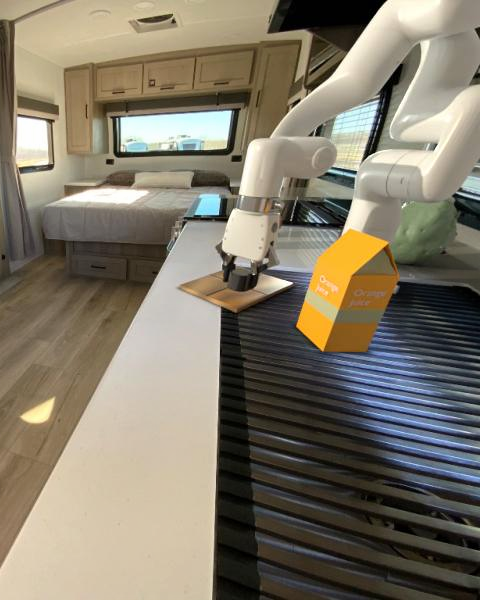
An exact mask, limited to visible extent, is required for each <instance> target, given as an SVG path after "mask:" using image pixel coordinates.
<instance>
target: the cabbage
mask: <svg viewBox="0 0 480 600" xmlns="http://www.w3.org/2000/svg"><path fill="white" fill-rule="evenodd" d="M455 202H456V199H455V197H453V196H451V197H449V198H448V199H446V200H444V201H441V202H437V203H421V202H414V201H408V200H407V201H406V202H405V203H403V205H402V204H401V206H402V220H401V223H400V226H399V228H398V230H397V233H396V235H395V237H394V240H393V242H392V245H391V247H390V250H391V253H392V256H393V259H394V262H395V263H396V264H397V263H398V264H401V265H417V264H423V263H425V262H427V261H430V260H433V259H436V258H438V257H439V256H440V255H441V254H442V253H443V252H444V251H446V250H447V248H449V246H450V245H451V244H453V242H454V241H455V240H456V237H457V236H458V232H457V230H458V227H457V224H458V220H457V219H458V218H460V215H461V210H460V211H458V212H457V208H456V206H455Z"/></svg>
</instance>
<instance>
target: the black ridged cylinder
mask: <svg viewBox="0 0 480 600" xmlns="http://www.w3.org/2000/svg"><path fill="white" fill-rule="evenodd" d="M247 269H248V268H246V269H242V268H233V269H230V272H229V276H228V281H227V288H228V289H230V290H233V291H237V292H246V291H247V290H245V289H244V288H245V284H246V280H247V275H248V274H249V273H251V271H249V270H250V269H249V270H247Z"/></svg>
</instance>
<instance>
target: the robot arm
mask: <svg viewBox="0 0 480 600" xmlns="http://www.w3.org/2000/svg"><path fill="white" fill-rule="evenodd" d="M478 28H480V0H386V1H385V2H383V4H382V5H381V7H380V8H379V9H378V10H377V12H376V14H375V15H374V16H373V18H371V20H370V21H369V23H368V24H367V25H366V27H365V28H364V30H363V31H362V33H361V34H360V36H359V37H358V38H357V39H356V41H355V43H354V44H353V46H352V47H351V48H350V50H349V51H348V53H347V54H346V55H345V57H344V58H343V59H342V61H341V62H340V64H339V65H338V67H337V68H336V69H335V71H334V72H333V73H332V75H331V76H330V77H329V78H327V79H326V80H325V81H324V82H322V83H321V84H320V85H318V87H316V88H314V90H312V91H311V92H310V93H309V94H307V96H305V97H304V98H303V99H302V100H301V101H299V102H298V103H297V104H296V105H295V106H294V107H292V109H290V111H289V112H288V113H286V115H285V116H284V117H283V118H282V119H281V121H280V122H279V123H278V125H277V126H276V127H275V129H274V131H272V133H271V135H270V137H265V138H264V137H261V138H255V139H253V140H252V141H250V143H249V144H248V146H247V150H246V155H245V161H244V165H243V170H242V175H241V181H240V184H239V185H240V186H239V191H238V195H237V201H236V205H235V208H232V211H231V213H230V216H229V218H228V220H227V224H226V226H225V229H224V230H225V231H224V233H223V238H222V240H220V242H218V243H217V244H216V245H215V247H214V248H215V250H216V252H217V253H218V254H219V256H220V258H221V260H222V265H223V266H224V268H223V270H224V273H223V282H225V283H226V282H227V281H228V276H229V272H230V269H233V268H236V266H237V263H235V262H236V260H237V258H241V259H245V260H249V261H250V270H251V273H249V274H248V275H247V280H246V284H245V288H244V289H245V290H247V291H248V290H251V289H253V288H255V287H256V286H257V283H258V279H259V275H260V273H263V272H264V271H266V270H268V269H270V268H274V267H276V266H278V265H280V264H281V263H280V260H279V257H278V255H277V253H276V249H277V245H278V239H279V238H278V237H279V231H280V229H279V221H280V216H281V214H280V212H276V211H278V210H283V208H284V207H285V202H284V201H281V200H280V199H281V197H280V195H281V191H282V188H283V184H284V181H285V179H286V178H293V179H302V180H310V179H315V178H318V177H321V176H323V175H325V174H326V173H327V172H329V171H330V170H331V169H332V167H333V166H334V165H335V163H336V161H337V158H338V148H337V146H336V144H335V143H334V142H333V141H332V140H331V139H329V138H326V137H322V136H309V135H310V134H311V133H312V132H314V131H315V130H316V129H317V128H318V127H319V126H321V125H323V124H324V123H325V122H328V121H329V120H331V119H333V118H334V117H337V116H339V115H341V114H344V113H346V112H348V111H350V110H352V109H354V108H357V107H358V106H359V107H360V105H362V104H364V103H366V102H368V101H370V100H372V99H373V98H375V96H377V95H378V93H380V91H381V90H382V88H383V87H384V86H385V84H386V83H387V82H388V81H389V79H390V78H391V76H392V75H393V73H395V71H396V70H397V68H398V67H399V66H400V64H401V63H402V62H403V60H405V58H406V57H407V55H408V54H409V53H410V52H411V50H412V49H413V48H414V47H415V46H416V45H418V44H420V51H421V53H420V62H419V66H418V67H417V71H416V72H415V74H414V77H413V79H412V81H411V83H410V84H409V86H408V89H407V91H406V92H405V95H404V97H403V98H402V100H401V103H400V104H399V106H398V109H397V110H396V112H395V114H394V116H393V118H392V121H391V123H390V126H389V135H390V136H389V137H390V138H391V139H393V141H396V142H399V143H406V144H437V146H436V147H435V149H434V150H429V149H427V150H426V149H411V148H410V149H408V148H407V149H405V148H404V149H403V148H395V149H394V148H392V149H391V148H390V149H384V150H380V151H376V152H375V153H372V154H371V155H369V156H368V157H367V158H366V159H364V160H363V161H362V162H361V163H360V165H359V167H358V168H357V171H356V175H355V178H354V188H353V189H354V190H353V196H352V201H351V205H350V207H349V208H350V209H349V212H348V215H347V218H346V221H345V224H344V226H343V230H342V233H341V235H340V237H341V236H342V235H343V234H344V233H345V232H347V231H348V230H349V229H353V230H356V231H359V232H361V233H364V234H367V235H370V236H373V237H375V238H378V239H381V240H384V241H387V242H389V243H388V244H389V247H391V245H392V242H393V240H394V237H395V235H396V233H397V230H398V228H399V226H400V223H401V220H402V202H401V201H407V202H408V201H414V202H421V203H437V202H441V201H444V200H446V199H448V198H449V197H453V195H455V194H456V193H457V192H458V191H459V189H460V188H461V187H462V186H463V185H464V183H465V181H466V180H467V179H468V178H469V176H470V174H471V172H472V171H473V170H474V168H475V166H476V165H477V163H478V162H479V160H480V84H471V81H472V80H473V78H474V77H475V74H476V72H477V70H478V68H479V67H480V37H479V35H478V34H477V31H476V29H478ZM470 84H471V85H470ZM265 259H268V262H265V263H264V260H265ZM399 289H400V285H397V284H396V286H395V289H394V291H393V293H392V295H396V294H397V293H398V292H399Z"/></svg>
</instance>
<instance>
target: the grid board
mask: <svg viewBox="0 0 480 600" xmlns="http://www.w3.org/2000/svg"><path fill="white" fill-rule="evenodd" d="M236 268H242V269H247V270H249V271H251V269H250V268H246V267H243V266H239V265H236ZM223 273H224V269H222V270H219V271H216V272H213V273H209V274H208V275H205V276H202V277H199V278H195V279H193V280H189V281H187V282H184V283H181V284H179V288H178V289H179V290H182V291H183V292H186V293H188V294H191V295H193V296H195V297H198V298H201V299H202V300H206V302H207V301H208V302H210V303H212V304H215V305H217V306H220V307H222V308H224V309H226V310H229V311H231V312H233V313H236V314H237V313H239V312H242V311H244V310H246V309H248V308H250V307H252V306H254V305H257V304H259V303H261V302H263V301H265V300H267V299H270V298H271V297H274V296H276V295H277V294H280V293H282V292H284V291H287V290H288V289H291V288H293V286H294V282H291V281H287V280H284V279H281V278H278V277H274V276H271V275H268V274H266V273H263V272H261V273H260V275H259V279H258V283H257V286H256V287H255V288H253V289H251V290H248V291H246V292H237V291H233V290H230V289H228V288H227V282H226V283H225V282H223Z"/></svg>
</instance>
